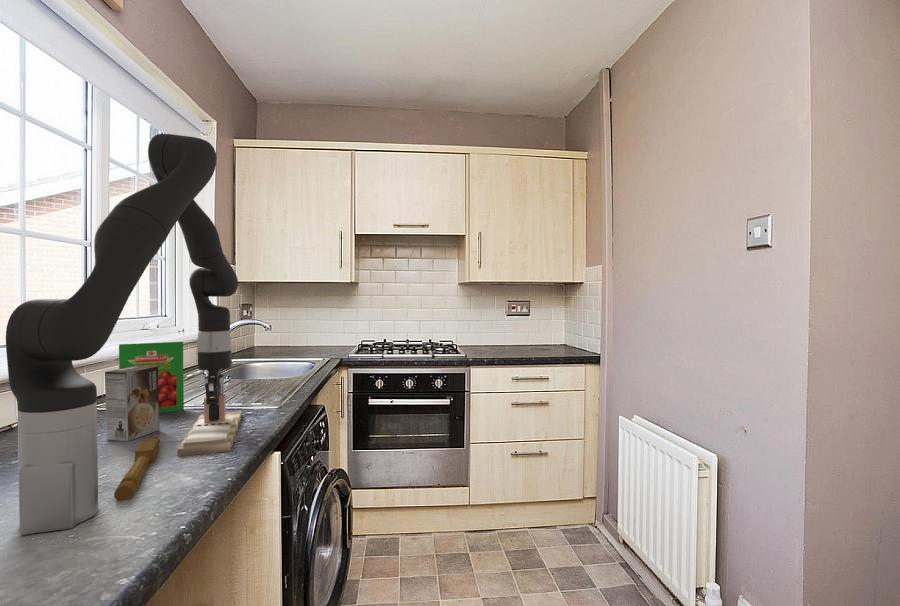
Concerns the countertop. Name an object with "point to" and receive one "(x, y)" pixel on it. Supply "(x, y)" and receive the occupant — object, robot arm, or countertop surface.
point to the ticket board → (210, 436)
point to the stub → (222, 413)
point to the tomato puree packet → (159, 369)
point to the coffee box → (131, 402)
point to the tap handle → (137, 468)
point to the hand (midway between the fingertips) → (215, 418)
